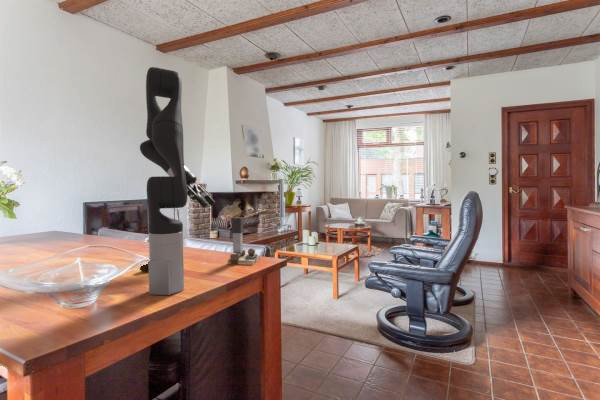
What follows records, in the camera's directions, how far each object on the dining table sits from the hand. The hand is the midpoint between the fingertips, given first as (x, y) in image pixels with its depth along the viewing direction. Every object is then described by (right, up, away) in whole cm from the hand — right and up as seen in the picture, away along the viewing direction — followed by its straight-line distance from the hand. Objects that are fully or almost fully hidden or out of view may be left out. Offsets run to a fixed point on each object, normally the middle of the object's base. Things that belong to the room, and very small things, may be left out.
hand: (210, 205), depth 137 cm
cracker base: (+14, -22, -1) cm, 26 cm away
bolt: (-16, -23, -11) cm, 30 cm away
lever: (+11, -20, 0) cm, 23 cm away
